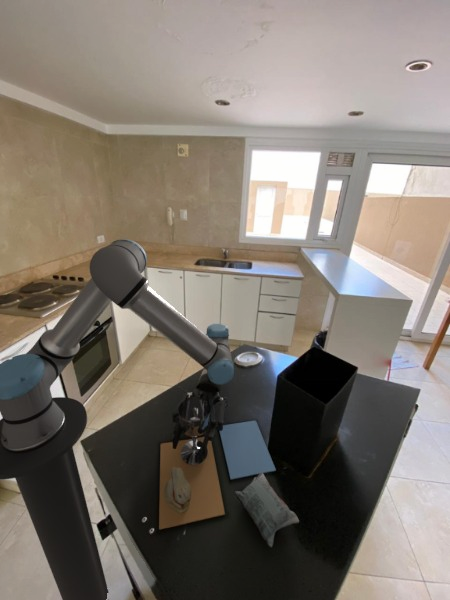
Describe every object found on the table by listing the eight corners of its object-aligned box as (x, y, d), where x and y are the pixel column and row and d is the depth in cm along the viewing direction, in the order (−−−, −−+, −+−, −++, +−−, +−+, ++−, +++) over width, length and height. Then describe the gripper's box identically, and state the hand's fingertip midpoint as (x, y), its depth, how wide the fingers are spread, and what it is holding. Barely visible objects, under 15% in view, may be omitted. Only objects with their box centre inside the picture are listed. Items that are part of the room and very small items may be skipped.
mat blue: (218, 426, 77) (218, 426, 77) (255, 421, 79) (255, 420, 79) (230, 479, 62) (230, 479, 62) (275, 470, 65) (276, 470, 65)
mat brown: (160, 444, 70) (160, 443, 70) (210, 436, 73) (210, 435, 73) (159, 529, 52) (158, 528, 52) (224, 514, 55) (224, 513, 55)
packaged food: (261, 478, 63) (263, 464, 61) (298, 526, 54) (301, 512, 52) (233, 498, 58) (234, 484, 57) (267, 555, 49) (270, 541, 47)
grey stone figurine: (166, 522, 53) (164, 491, 50) (163, 484, 60) (161, 455, 57) (192, 514, 55) (192, 483, 51) (187, 478, 62) (186, 449, 58)
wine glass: (183, 471, 62) (182, 425, 57) (176, 444, 69) (175, 401, 64) (213, 460, 65) (215, 416, 60) (203, 435, 72) (204, 393, 67)
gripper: (239, 397, 81) (228, 466, 60) (181, 388, 84) (150, 451, 62) (241, 378, 78) (230, 443, 57) (180, 369, 81) (149, 428, 60)
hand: (188, 447), depth 60 cm, fingers closed on wine glass, 6 cm apart
